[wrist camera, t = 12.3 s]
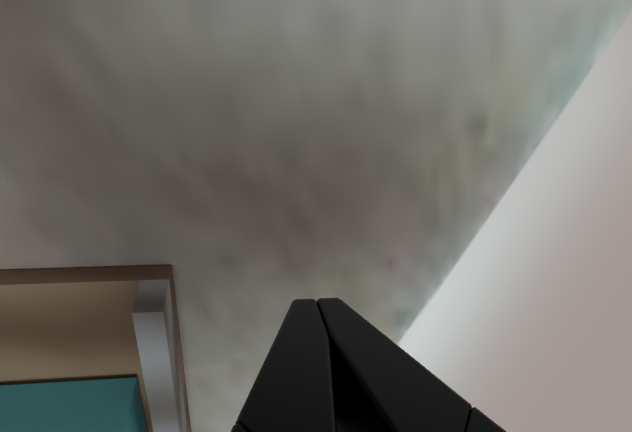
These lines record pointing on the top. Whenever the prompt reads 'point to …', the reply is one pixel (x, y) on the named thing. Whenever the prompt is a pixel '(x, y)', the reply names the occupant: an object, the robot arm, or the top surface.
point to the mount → (97, 333)
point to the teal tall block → (72, 407)
